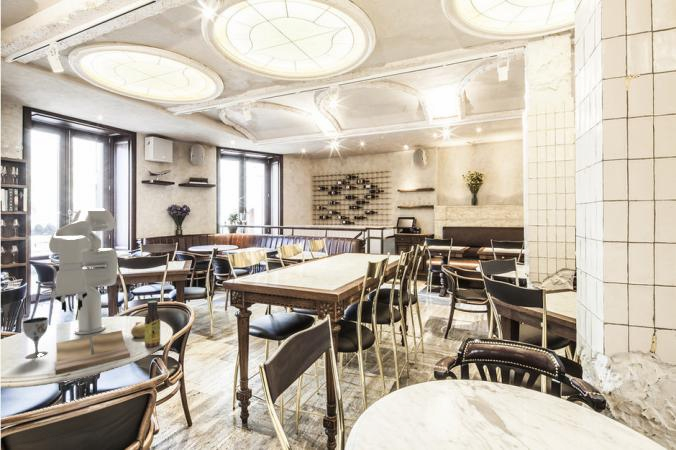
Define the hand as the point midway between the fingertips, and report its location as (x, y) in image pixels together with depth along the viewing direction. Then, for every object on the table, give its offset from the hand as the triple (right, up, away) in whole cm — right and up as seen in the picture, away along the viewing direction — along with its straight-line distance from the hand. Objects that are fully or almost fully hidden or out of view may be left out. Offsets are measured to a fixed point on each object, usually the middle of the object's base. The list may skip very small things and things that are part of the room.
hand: (72, 309), depth 143 cm
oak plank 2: (+11, -16, +6) cm, 21 cm away
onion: (+16, -19, +22) cm, 33 cm away
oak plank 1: (+2, -17, -1) cm, 17 cm away
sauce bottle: (+28, -19, +11) cm, 36 cm away
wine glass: (-16, -20, +1) cm, 25 cm away
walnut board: (+13, -20, -5) cm, 24 cm away
